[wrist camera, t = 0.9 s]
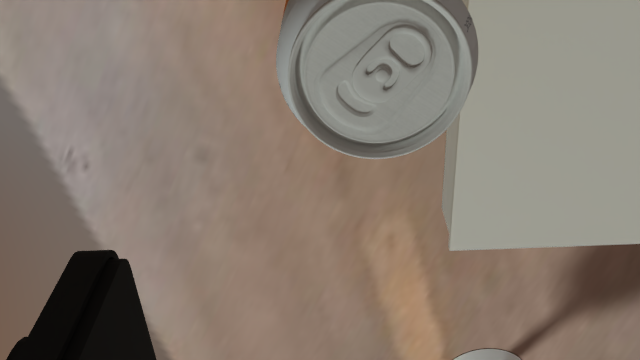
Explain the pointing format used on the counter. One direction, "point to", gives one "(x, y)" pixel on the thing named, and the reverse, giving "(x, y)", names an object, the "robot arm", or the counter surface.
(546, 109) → the riser
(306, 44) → the beer can
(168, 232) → the counter surface
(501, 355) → the champagne flute
